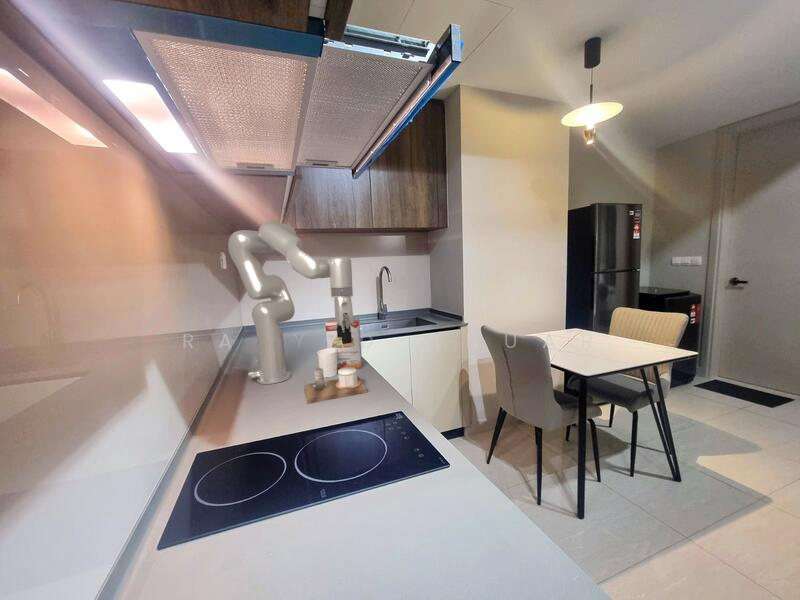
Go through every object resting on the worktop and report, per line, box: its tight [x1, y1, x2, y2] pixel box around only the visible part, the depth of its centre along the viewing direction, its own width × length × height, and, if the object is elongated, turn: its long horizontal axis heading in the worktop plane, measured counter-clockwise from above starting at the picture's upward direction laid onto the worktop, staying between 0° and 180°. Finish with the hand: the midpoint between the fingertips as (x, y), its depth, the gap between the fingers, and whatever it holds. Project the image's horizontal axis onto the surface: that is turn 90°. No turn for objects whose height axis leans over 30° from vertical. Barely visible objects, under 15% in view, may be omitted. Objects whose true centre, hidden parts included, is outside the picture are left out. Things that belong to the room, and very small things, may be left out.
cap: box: [337, 367, 358, 387], centre depth 115 cm, size 7×7×5 cm
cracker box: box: [325, 318, 363, 370], centre depth 138 cm, size 14×6×21 cm, turn 92°
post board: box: [303, 367, 368, 405], centre depth 113 cm, size 20×14×8 cm
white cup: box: [316, 348, 338, 379], centre depth 130 cm, size 8×8×10 cm
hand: (344, 340), depth 114 cm, fingers open, 9 cm apart
